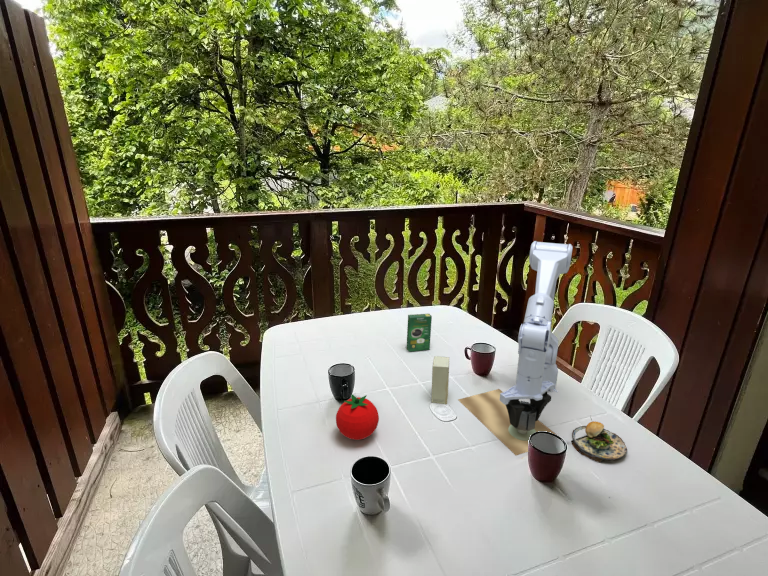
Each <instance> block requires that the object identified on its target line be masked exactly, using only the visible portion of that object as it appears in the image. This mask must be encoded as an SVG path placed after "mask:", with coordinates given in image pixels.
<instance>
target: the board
mask: <svg viewBox="0 0 768 576" xmlns="http://www.w3.org/2000/svg"><path fill="white" fill-rule="evenodd" d="M503 392H504V391H503V390H501V389H500V388H497V389H494V390H493V389H492V390H490V391H487V392H485V391H484V392H482V393H478V394H474V395H469V396H466V397H463V398H458V399H457V401H459V403H460V404H462V406H463V407H464V408H466V409H467V410H468V411H469V412H470V413H471V414H472V415H473V416H474V417H475V418H476V419H477V420H478V421H479V422H480V423H482V425H483V426H484V427H486V428H487V430H489V431H490V432H491V434H492V435H494V436H495V437H496V438H497V439H498V440H499V441H500V442H501V443H502V444H503V445H504V446H505V447H506V448H507V449H508V450H509V451H510V452H511V453H512V454H513V455H514V456H516V457H517V456H519V455H522V454H525V453H528V452H529V451H528V440H529V437H530V435H532V434H533V433H535V432H538V431H547V432H551V433H553V434H556V435H558V434H557V433H555V432H554V431H553V430H551V429H550V428H549V427H548V426H546V424H544V423H543V422H542V421H540V420H539V419H538V421H535V428H534V429H533V430H530V431H527V430H526V431H523V430H518V428H517V429H516V428H515V427H513V426H512V425H511V424H510V420H509V414H508V411H507V408H506V405H505V404H503V403H502V402H501V401H500V393H503Z"/></svg>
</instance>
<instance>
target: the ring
mask: <svg viewBox="0 0 768 576" xmlns="http://www.w3.org/2000/svg"><path fill="white" fill-rule="evenodd" d="M520 404H521V405H523V406H524V407H525V408H524V409H523V411H522V413H521V416H520V420H519V425H518V427H516V429H517V428H518V430H523V431H526V430H527V431H530V430H533V429H534V428H535V420H536V410H537V408H536V406H534V405H533V404H531V403H530V401H524V400H521V401H520ZM512 426H513V425H512ZM513 427H514V426H513Z"/></svg>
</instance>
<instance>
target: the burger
mask: <svg viewBox="0 0 768 576" xmlns="http://www.w3.org/2000/svg"><path fill="white" fill-rule="evenodd" d="M590 420H591V421H590V422H588V423H587V425H581V426H578V427H575V428H574V429H572V433H571V436H572V440H570V442H571V445H572V447H573V448H574V449H575V451H577V452H578V453H579V454H580V455H581V456H584V457H586V458H588V459H590V460H591V461H594V462H596V463H601V462H602V461H603V460H608V461H609V460H610V461H614V460H617V459H620V458H622V457H624V456H625V455H626V454H627V452H628V448H627V446H626V442H625V441H624V440H623V438H622V437H620V436H619V435H617V433H614V432H612V431H610V430H608V429H605V425H604V424H603V423H601V422H599V421H596V420H595V421H593V420H592V416H591V415H590ZM583 430H584V431H585V434H586V435H584V436H581V437H578V438H576V434H577V433H578V432H579V431H583Z"/></svg>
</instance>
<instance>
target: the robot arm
mask: <svg viewBox="0 0 768 576" xmlns="http://www.w3.org/2000/svg"><path fill="white" fill-rule="evenodd" d="M572 253H573V245H572V244H571V243H568V244H567V243H555V242H543V241H537V240H534V241H533V242H532V243H531V245H530V250H529V257H528V259H529V260H528V261H529V265H530V268H531V269H532V270H534V271H536V272H537V273H536V280H535V290H534V291H535V292H534V294H533V295H531V296H530V297H529V298H528V301H527V304H526V305H527V306H526V310H525V314H524V319H523V323H521V325H520V327H519V332H518V336H517V343H518V344H517V345H518V351H517V354H518V362H517V368H516V369H517V370H516V378H515V384H514V385H512V386H511V387H509V388H508V389H507V390H505V391H502V392H503V393H500V401H501V402H502V403H503V404H505V405H506V408H507V411H508V414H509V420H510V424H511V425H513V426H514V427H515V428H516V427H518V425H519V420H520V416H521V413H522V411H523V409H524V408H525V407H524V406H523V405H521V404H520V402H521V401H520V400H529V403H531V404H533V405H534V406H536V408H537V410H536V420H535V421H538V420H539V419H540V416H541V414H542V412H543V411H544V409H545V407H546V406H547V405H548V404H549V403H551V401H552V396H551V395H550V394H548V392H549V393H552V392H555V393H558V390H557V389H556V386H557V381H558V380H557V379H558V374H559V371H558V370H559V369H558V365H557V364H556V362H557V355H558V349H559V338H558V336H557V335H555V334H554V333H553V332H552V319H553V317H552V316H553V311H554V306H555V301H554V300H555V294H556V285H557V280H558V278H559V277H560V276H561V275H564V274H567V273H568V272H569V270H570V267H571V261H572Z"/></svg>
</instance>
